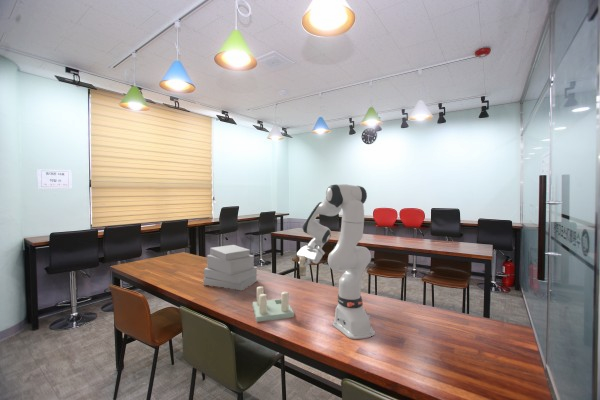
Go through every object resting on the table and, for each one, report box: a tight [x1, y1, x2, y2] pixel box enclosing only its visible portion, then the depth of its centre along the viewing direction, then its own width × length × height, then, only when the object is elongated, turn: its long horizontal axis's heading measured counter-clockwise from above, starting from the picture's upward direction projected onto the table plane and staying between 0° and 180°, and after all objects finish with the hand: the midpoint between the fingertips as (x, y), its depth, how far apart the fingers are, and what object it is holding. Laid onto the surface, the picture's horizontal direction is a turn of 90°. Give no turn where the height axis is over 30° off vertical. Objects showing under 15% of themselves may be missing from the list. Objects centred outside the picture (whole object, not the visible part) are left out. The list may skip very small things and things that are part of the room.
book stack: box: [202, 244, 259, 291], centre depth 197 cm, size 30×35×26 cm
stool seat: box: [252, 286, 295, 323], centre depth 150 cm, size 20×20×12 cm
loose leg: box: [298, 256, 307, 277], centre depth 169 cm, size 4×4×12 cm
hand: (301, 265), depth 168 cm, fingers closed on loose leg, 4 cm apart
